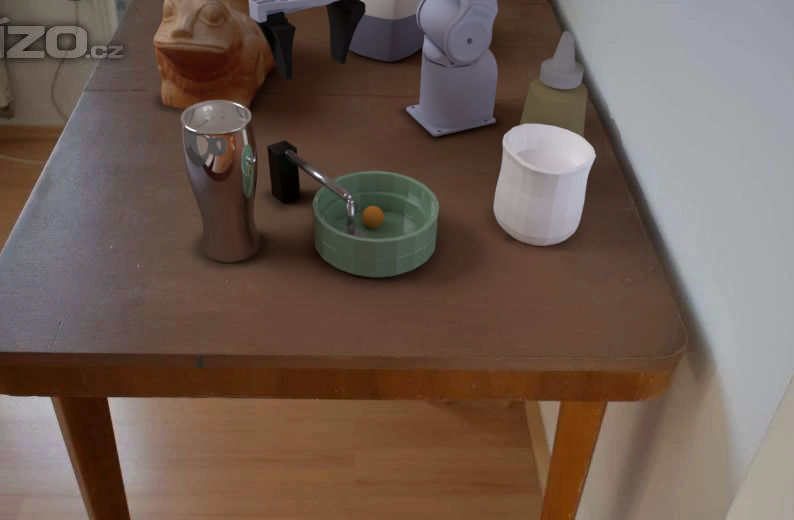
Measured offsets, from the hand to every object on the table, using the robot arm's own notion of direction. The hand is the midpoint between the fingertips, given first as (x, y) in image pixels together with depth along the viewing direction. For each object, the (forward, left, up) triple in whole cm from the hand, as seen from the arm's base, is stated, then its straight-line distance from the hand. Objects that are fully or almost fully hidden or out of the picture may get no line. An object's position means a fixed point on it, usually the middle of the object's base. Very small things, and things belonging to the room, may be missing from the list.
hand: (312, 68), depth 99 cm
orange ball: (+2, +21, -8) cm, 22 cm away
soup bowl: (+3, +23, -9) cm, 25 cm away
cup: (-15, +27, -10) cm, 32 cm away
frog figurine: (+6, -19, -10) cm, 22 cm away
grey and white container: (-21, -22, -10) cm, 32 cm away
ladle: (+7, +17, -9) cm, 21 cm away
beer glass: (+17, +17, -10) cm, 26 cm away
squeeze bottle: (-21, +20, -10) cm, 31 cm away
